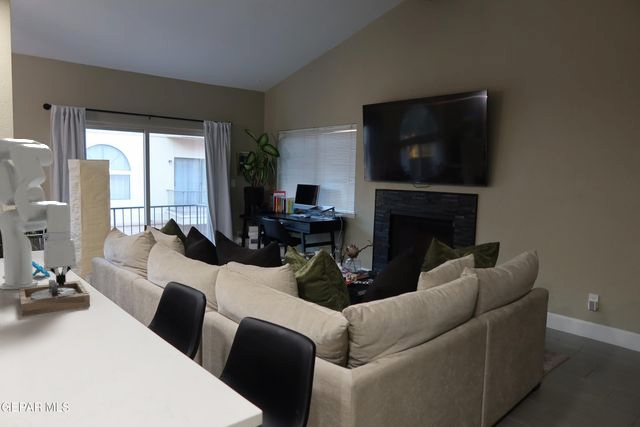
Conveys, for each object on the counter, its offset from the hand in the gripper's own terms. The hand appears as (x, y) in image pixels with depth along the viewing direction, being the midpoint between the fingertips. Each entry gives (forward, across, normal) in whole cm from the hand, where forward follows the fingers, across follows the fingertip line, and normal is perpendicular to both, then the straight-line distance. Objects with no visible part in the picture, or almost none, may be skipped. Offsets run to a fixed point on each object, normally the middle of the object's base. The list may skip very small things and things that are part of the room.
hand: (61, 284), depth 164 cm
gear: (+5, -4, +42) cm, 43 cm away
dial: (+3, -3, -4) cm, 6 cm away
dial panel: (+5, -3, -4) cm, 7 cm away
